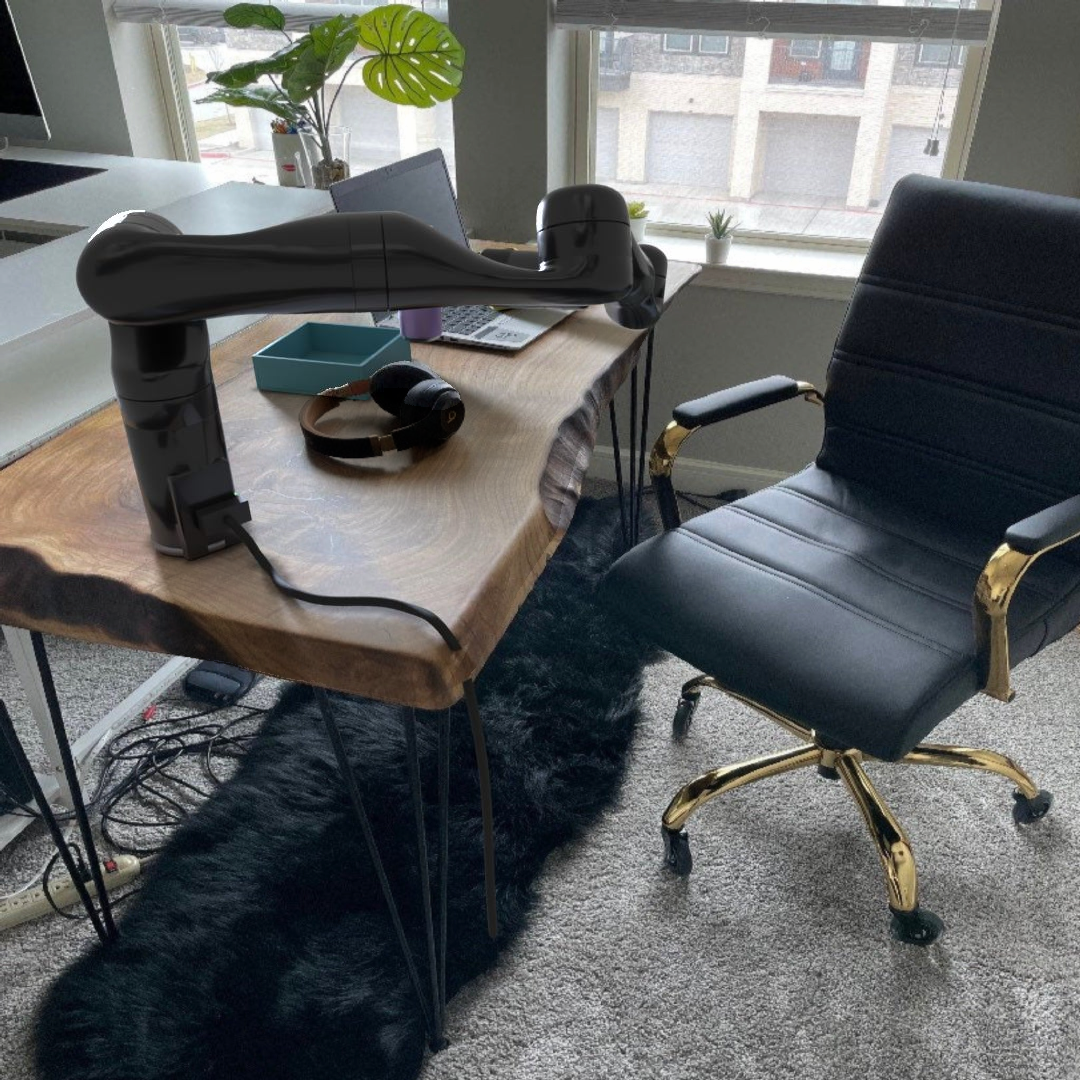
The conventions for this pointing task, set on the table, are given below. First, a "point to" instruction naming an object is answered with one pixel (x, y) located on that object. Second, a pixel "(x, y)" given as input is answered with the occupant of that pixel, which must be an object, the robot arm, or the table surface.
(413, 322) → the beverage can
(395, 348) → the box
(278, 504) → the table surface
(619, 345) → the table surface
